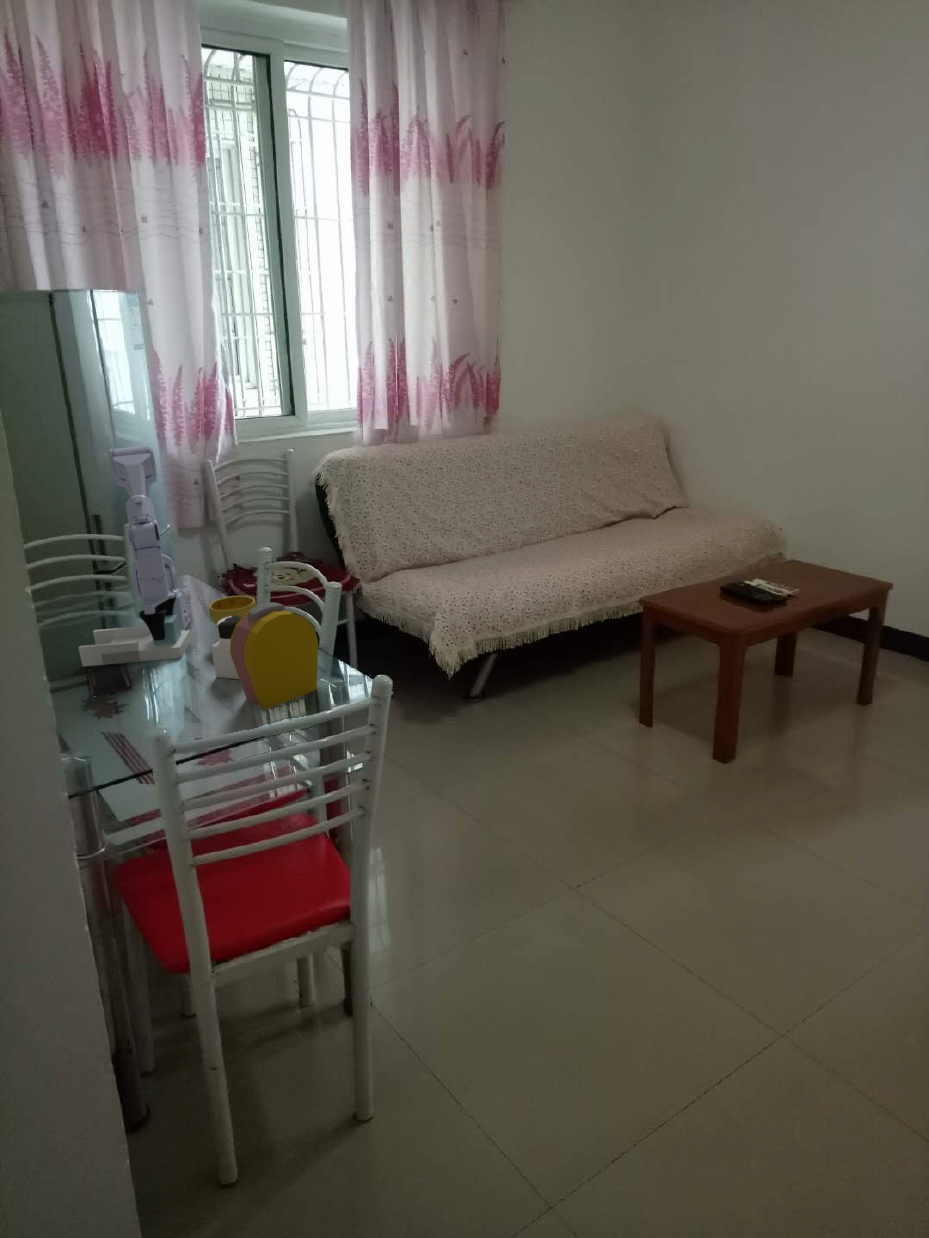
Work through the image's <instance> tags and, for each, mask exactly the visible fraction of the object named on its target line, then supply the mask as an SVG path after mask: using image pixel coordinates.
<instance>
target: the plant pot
mask: <svg viewBox="0 0 929 1238" xmlns="http://www.w3.org/2000/svg"><path fill="white" fill-rule="evenodd" d="M256 603H257V601H256V599H255V598H254V597H252V596H249V595H231V596H226V597H221V598H219V599H218V598H217V599H216V600H213V601H212V602H211V603H210V604H209V605H208V611H209V615H210V616H209V617H210V620H211V622H212V623H214V625H215V627H216V628H217V623H218V621H219V620H221V619H223V618H226V617H230V616H240V617H243V616H244V615H245V614H246V613H248V612H249V611H250V610H251V609H252V608H254V607H256V606H257V604H256Z"/></svg>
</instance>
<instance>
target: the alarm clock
mask: <svg viewBox="0 0 929 1238" xmlns="http://www.w3.org/2000/svg"><path fill="white" fill-rule="evenodd" d="M318 652H319V639H318V635H317V633H316V630H315V627H314V626H313V625H312V624H311V623H310V621H309V620H308V619H307V618H306V617H303V616H301V615H298V614H296V613H293V612H291V611H288V610H286V607H285V605H284V604H281V603H279V602H273V601H272V602H264V603H260V604H258V605H257V604H256V607H254V608H252V609H251V610H250V611H249V612H248V613H246V614H245V615H244V616H243V618H242V619H241V620H240V621H239V622H238V623H237V624H236V626H235V629H234V631H233V634H232V636H231V639H230V655H231V657H232V660H233V663H234V665H235V668H236V671H237V673H238V676H239V679H238V680H239V682H240V684H241V687H242V690H243V692H244V695H245V698H246V699H247V700H249V701H250V702H251V703H254V704H256V705H258V706H259V707H261V708H263V709H265V710H266V711H267V710H268V709H269V710H270V709H271V708H275V707H277V706H279V705H282V704H284V703H287V702H290V701H292V700H295V699H297V698H300V697H302V696H305V695H307V694H310V693H312V692H314V691H315V692H316V691H317V689H318V688H317V687H318V686H317V685H318V659H319V658H318V656H319V653H318Z"/></svg>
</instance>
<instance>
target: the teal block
mask: <svg viewBox="0 0 929 1238" xmlns="http://www.w3.org/2000/svg"><path fill="white" fill-rule="evenodd" d="M164 625H165V639H164V640H158V641H155V640H154V639H153V643H154V645H160V644H172V643H177V641H178V640H179V638H180V637H181V630H180V625H179V619H178V615H169V616H165V624H164ZM152 638H153V637H152Z"/></svg>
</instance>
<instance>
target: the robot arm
mask: <svg viewBox="0 0 929 1238" xmlns="http://www.w3.org/2000/svg"><path fill="white" fill-rule="evenodd" d="M107 453H108V460H109V465H110V469H111V473H112V474H113V478H114V481H115V482H116V486H119V487H122V488H124V489H125V490H126V491H127V493H128V495H129V499H128V500H127V501H126V503H125V508H126V515H127V523H128V527H127V529H126V530H127V538H128V543H129V546H130V550H131V553H132V555H133V560H134V561H133V562H132V563H131V566H130V569H131V578H132V583H133V589H134V593H135V595H137V596H138V597H141V600H142V604H143V606H142V607H143V610H140V611H139V612H138V616H139V618H140V619H141V620H142V621H143V622H144V624H145V626H148V628H149V630H150V632H151V634H152V637H153V639H154V640H155V641H158V640H164V639H165V625H164V624H165V616H169V615H178V619H179V625H180V630H181V631H184V630H186V629H187V627H188V626H189V624H190V622H191V619H190V617H189V616H190V615H189V609H188V604H187V600H186V596H185V593H184V592H177V591H178V589H179V584H178V580H177V573H176V568H175V566H174V565H175V564H174V561H173V560H172V558H171V557H169V556H168V555H166V554H163V551H162V548H163V547H162V546H163V541H162V534H161V530H160V526H159V524H158V521H157V518H156V513H155V512H156V511H155V506H154V503H153V500H152V499H151V498H150V489H151V485H152V484H154V483H156V482H157V480H158V479H157V477H158V475H157V473H158V472H157V465H156V460H155V454H154V449H153V446H151V445H150V444H147V445H141V446H131V447H122V448H121V447H120V448H109V450H108V452H107ZM158 541H159V542H158ZM159 543H160V545H159Z"/></svg>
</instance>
